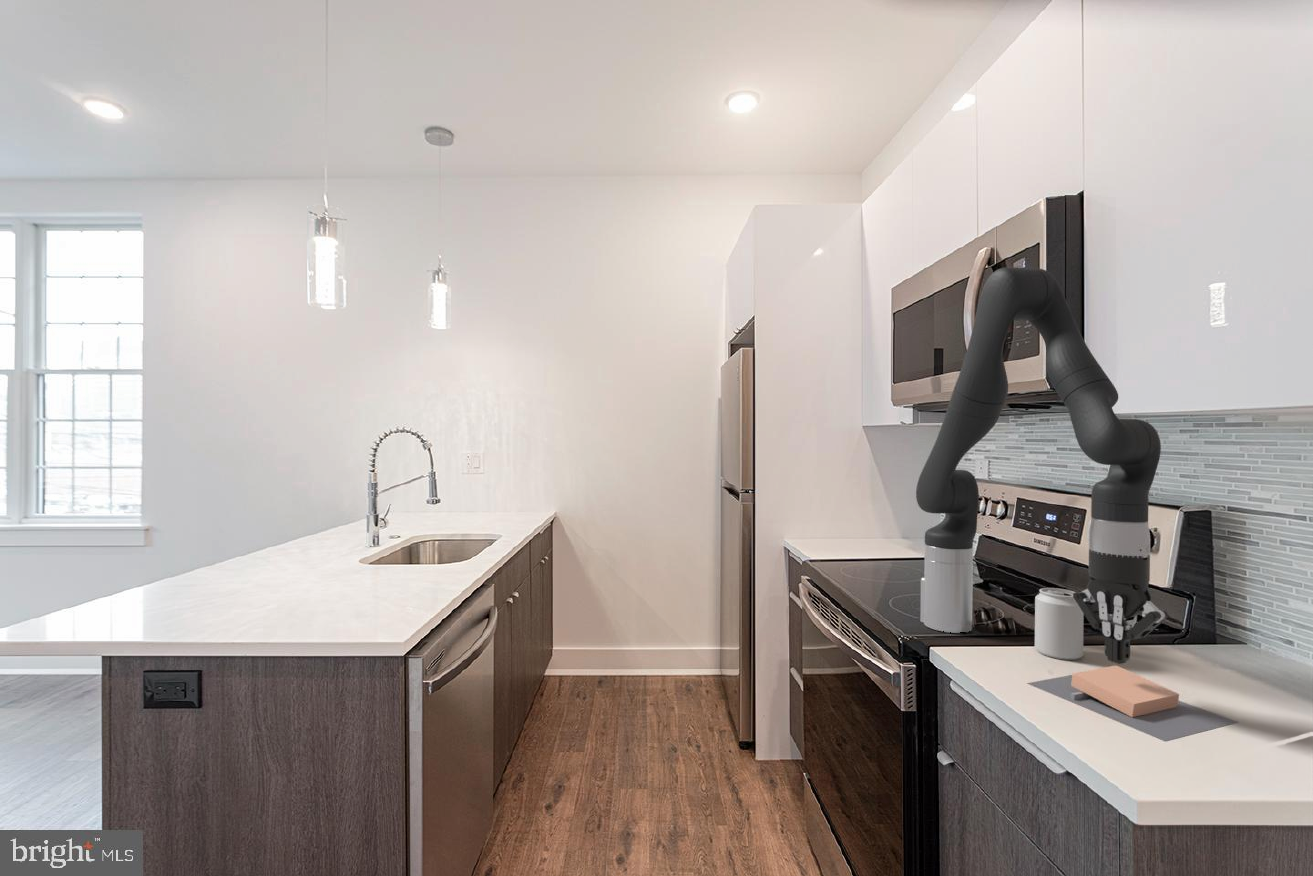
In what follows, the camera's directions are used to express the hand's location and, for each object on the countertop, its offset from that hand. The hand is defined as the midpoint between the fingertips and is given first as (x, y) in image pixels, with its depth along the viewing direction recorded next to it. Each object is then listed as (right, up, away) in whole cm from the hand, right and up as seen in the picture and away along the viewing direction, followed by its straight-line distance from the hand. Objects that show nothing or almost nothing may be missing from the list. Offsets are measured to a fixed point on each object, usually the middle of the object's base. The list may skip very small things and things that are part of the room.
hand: (1117, 661), depth 95 cm
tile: (-1, -3, +3) cm, 5 cm away
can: (+4, -6, +19) cm, 20 cm away
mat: (0, -6, -1) cm, 6 cm away
